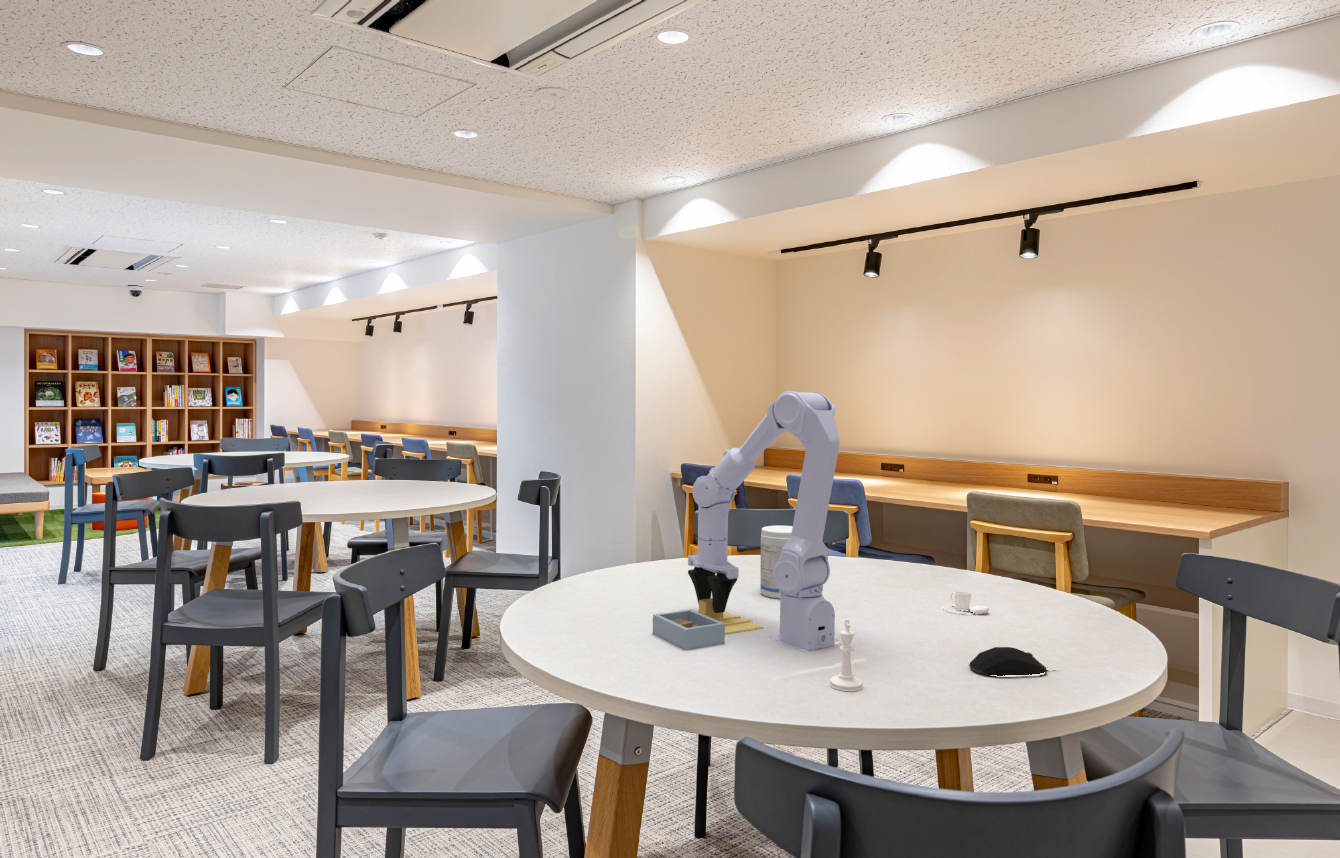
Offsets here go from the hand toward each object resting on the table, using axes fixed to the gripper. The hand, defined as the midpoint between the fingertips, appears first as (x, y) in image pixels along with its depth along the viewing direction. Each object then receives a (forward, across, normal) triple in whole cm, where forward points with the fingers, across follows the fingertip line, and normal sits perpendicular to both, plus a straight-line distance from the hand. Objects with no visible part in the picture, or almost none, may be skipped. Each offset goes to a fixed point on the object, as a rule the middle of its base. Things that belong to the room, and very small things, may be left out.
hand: (711, 609), depth 154 cm
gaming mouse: (+3, +47, +27) cm, 54 cm away
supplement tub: (+3, -11, +26) cm, 28 cm away
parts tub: (+2, +9, -11) cm, 14 cm away
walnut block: (+2, +8, -12) cm, 15 cm away
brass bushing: (+2, +12, -10) cm, 15 cm away
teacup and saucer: (+3, +19, +49) cm, 53 cm away
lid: (+2, +4, 0) cm, 4 cm away
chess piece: (+3, +39, -2) cm, 39 cm away
